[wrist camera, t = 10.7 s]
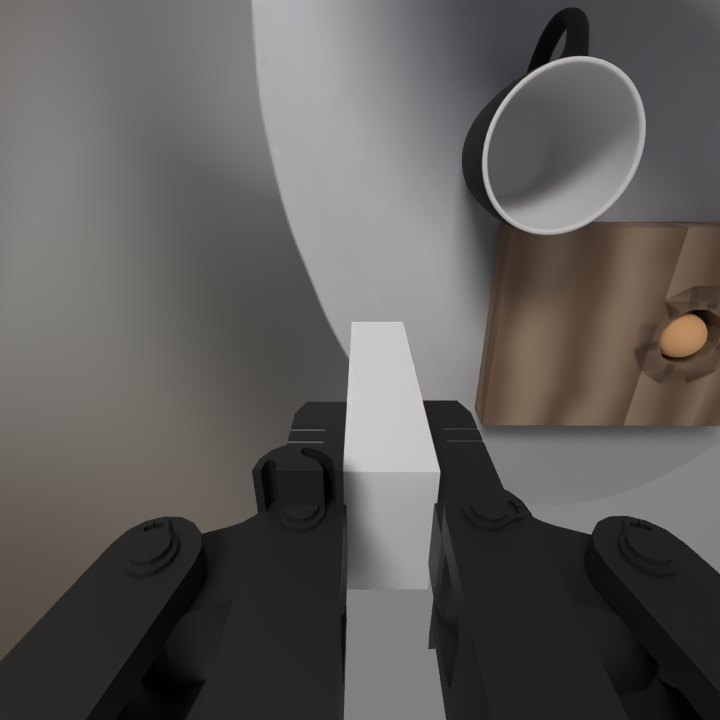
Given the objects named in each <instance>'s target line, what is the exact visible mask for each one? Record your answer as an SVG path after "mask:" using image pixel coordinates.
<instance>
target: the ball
mask: <svg viewBox="0 0 720 720" xmlns="http://www.w3.org/2000/svg"><path fill="white" fill-rule="evenodd" d="M706 339H707V328H706V325H705V323H704V322H703V321H702V320H701V319H700V318H699V317H698V316H696V315H694V314H692V313H689V312H686V313H684V314H682V315H680V316H678V317H676V318H675V319H674V320H673V321H672V322H671V323H670V324H669V325H668V326H667V327H666V328H665V329H664V330H663V333H662V336H661V339H660V342H659V348H660V352H661V353H662V354H664V355H667V356H671V357H685V356H688V355H691V354H693V353H695V352H697V351H698V350H699V349H701V348H702V346H703V345H704V344H705V342H706Z"/></svg>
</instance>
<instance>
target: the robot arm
mask: <svg viewBox="0 0 720 720" xmlns="http://www.w3.org/2000/svg"><path fill="white" fill-rule="evenodd" d="M252 473H253V481H254V487H255V495H256V502H257V508H258V513H257V514H256V515H255V516H253V517H251V518H249V519H248V520H246V521H244V522H242V523H239V524H236V525H233V526H230V527H227V528H223V529H219V530H215V531H211V532H207V533H203V534H201V532H200V531H199V529H198V528H197V526H196V525H195V523H193V522H191V521H189V520H187V519H184V518H182V517H161V518H157V519H153V520H149V521H145V522H143V523H141V524H139V525H137V526H135V527H133V528H131V529H129V530H128V531H126V532H125V533H124V534H123V535H121V536H120V537H119V538H118V539H117V540H115V541H114V542H113V543H112V544H111V545H110V546H109V547H108V548H107V549H106V550H105V551H104V552H103V553H102V554H101V555H100V557H99V558H98V559H97V560H96V561H95V562H94V563H93V564H92V565H91V566H90V567H89V568H88V569H87V570H86V571H85V572H84V573H83V575H82V576H81V577H80V578H79V579H78V580H77V581H76V582H75V583H74V584H73V585H72V586H71V587H70V588H69V589H68V590H67V591H66V592H65V594H64V595H63V596H62V597H61V598H60V599H59V600H58V601H57V602H56V603H55V604H54V605H53V606H52V607H51V609H50V610H49V611H48V612H47V613H46V614H45V615H44V616H43V617H42V618H41V619H40V620H39V621H38V622H37V623H36V624H35V625H34V626H33V628H32V629H31V630H30V631H29V632H28V633H27V634H26V635H25V636H24V637H23V638H22V639H21V640H20V642H18V643H17V645H15V647H14V648H13V649H12V650H11V651H10V652H9V653H8V654H7V655H6V656H5V657H4V658H3V659H2V660H1V661H0V720H344V691H345V690H344V689H345V658H346V657H345V656H346V624H347V623H346V622H347V616H346V593H347V589H417V590H418V589H419V590H421V589H424V590H427V589H428V583H429V574H430V579H431V585H432V591H433V597H434V599H433V607H432V616H431V625H430V633H429V649H435V647H436V653H437V660H438V667H439V674H440V681H441V687H442V694H443V701H444V708H445V714H446V720H720V574H719V573H718V572H717V571H716V570H715V569H714V568H712V567H711V566H710V565H709V564H708V563H707V562H706V561H705V560H703V559H702V558H701V557H700V556H699V555H698V554H697V553H695V552H694V551H693V550H692V549H691V548H690V547H689V546H688V545H686V544H685V543H684V542H682V541H681V540H679V539H678V538H677V537H675V536H674V535H672V534H671V533H670V532H669V531H667V530H665V529H663V528H661V527H659V526H657V525H654V524H652V523H650V522H648V521H645V520H641V519H637V518H633V517H628V516H610V517H608V518H605V519H603V520H601V521H599V522H598V523H597V524H596V526H595V528H594V530H593V532H592V535H590V534H586V533H582V532H578V531H574V530H570V529H566V528H562V527H558V526H554V525H551V524H548V523H545V522H542V521H540V520H538V519H536V518H534V517H533V516H532V514H531V512H530V511H529V510H528V508H527V507H526V506H525V504H524V503H523V502H522V501H521V500H520V499H519V498H517V497H516V496H515V495H513V494H512V493H510V492H509V491H507V490H504V488H503V486H502V484H501V481H500V479H499V477H498V474H497V472H496V470H495V467H494V465H493V463H492V460H491V458H490V456H489V453H488V451H487V449H486V446H485V444H484V442H482V437H481V435H480V432H479V430H477V426H476V423H475V421H474V419H473V416H472V414H471V412H470V411H468V410H467V409H466V408H465V407H464V406H463V405H461V404H460V403H459V402H458V401H422V397H421V393H420V389H419V385H418V381H417V377H416V373H415V369H414V365H413V361H412V357H411V353H410V349H409V345H408V341H407V337H406V333H405V329H404V325H403V322H352V331H351V348H350V364H349V382H348V397H347V402H306V403H305V404H304V405H303V406H302V407H301V408H300V409H299V410H298V411H297V413H295V416H294V420H293V424H292V428H291V431H290V435H289V439H288V443H287V445H285V446H282V447H279V448H277V449H274V450H271V451H270V452H269V453H268V454H266V455H265V456H263V457H262V458H260V459H259V461H258V462H257V464H256V465H255V467H254V468H253V470H252Z"/></svg>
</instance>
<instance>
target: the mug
mask: <svg viewBox="0 0 720 720" xmlns="http://www.w3.org/2000/svg"><path fill="white" fill-rule="evenodd" d="M566 29H567V35H566V44H565V47H564V50H563V52H562V54H561V56H560V57H559V59H557V60H554V61H551V62H549V61H550V58H551V56H552V53H553V51H554V49H555V47H556V45H557V43H558V41H559V39H560V37H561V36H562V34H563V33H564V31H565V30H566ZM588 46H589V23H588V19H587V16H586V15H585V13H584V12H583V11H581V10H580V9H578V8H573V7H572V8H566V9H563V10H561V11H559V12H558V13H557V14H555V15H554V16H553V17H552V19H551V20H550V21H549V23H548V24H547V26H546V28H545V29H544V31H543V33H542V35H541V37H540V39H539V41H538V44H537V46H536V48H535V51H534V53H533V56H532V59H531V62H530V64H529V67H528V70H527V73H526V74H525V75H523V76H522V77H520V78H519V79H517V80H516V81H514V82H513V83H511V84H510V85H509V86H508V87H506V88H505V89H504V90H502V91H501V92H500V93H499V94H498V95H497V96H496V97H495V98H494V99H492V100H491V101H490V102H489V103H488V104H487V106H486V107H485V108H484V109H483V110H482V111H481V113H480V114H479V115H478V117H477V118H476V119H475V121H474V123H473V124H472V126H471V128H470V130H469V132H468V134H467V137H466V140H465V143H464V147H463V153H462V168H463V174H464V178H465V181H466V183H467V186H468V188H469V190H470V191H471V193H472V194H473V196H474V197H475V199H476V200H477V201H478V202H479V203H480V204H481V205H482V206H483V207H484V208H485V209H486V210H487V211H488V212H489V213H491V214H492V215H493V216H495V217H496V218H497V219H499V220H500V221H502V222H504V223H505V224H507V225H509V226H511V227H513V228H515V229H518V230H520V231H523V232H526V233H530V234H535V235H558V234H563V233H567V232H571V231H574V230H577V229H579V228H581V227H583V226H585V225H587V224H589V223H591V222H592V221H594V220H595V219H597V218H598V217H600V216H601V215H602V214H604V213H605V212H606V211H607V210H608V209H609V208H610V207H611V206H612V205H613V204H614V203H615V202H616V201H617V200H618V199H619V198H620V196H621V195H622V194H623V193H624V191H625V190H626V188H627V187H628V185H629V183H630V182H631V180H632V178H633V176H634V174H635V172H636V170H637V168H638V165H639V163H640V160H641V156H642V153H643V149H644V144H645V136H646V118H645V111H644V107H643V103H642V100H641V97H640V95H639V92H638V90H637V89H636V87H635V85H634V84H633V82H632V81H631V79H630V78H629V77H628V76H627V75H626V74H625V73H624V72H623V71H622V70H621V69H619V68H618V67H616V66H615V65H613V64H611V63H609V62H607V61H605V60H602V59H599V58H595V57H589V56H588Z"/></svg>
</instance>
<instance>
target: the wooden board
mask: <svg viewBox="0 0 720 720" xmlns="http://www.w3.org/2000/svg"><path fill="white" fill-rule="evenodd" d="M691 310H695V312H696V316H698V317H699V318H700V319H701V320H702V321H703V322H704V323H705V325H706V328H707V339H706V342H705V344H704V345H703V346H702V348H701V349H699V350H698V351H697V352H695V353H693V354H691V355H688V356H685V357H671V356H667V355H664V354H662V353H661V352H660V348H659V342H660V339H661V336H662V333H663V330H664V329H665V328H666V327H667V326H668V325H669V324H670V323H671V322H672V321H673V320H674V319H675V318H676V317H678V316H680V315H682V314H684V313H686V312H688V311H691ZM475 410H476V412H477V414H478V416H479V418H480V421H481V423H482V425H553V426H720V222H591V223H589V224H587V225H585V226H583V227H581V228H579V229H577V230H574V231H571V232H567V233H563V234H558V235H535V234H530V233H526V232H523V231H520V230H518V229H515V228H513V227H511V226H509V225H507V224H505V223H504V222H501V226H500V233H499V240H498V247H497V255H496V262H495V269H494V276H493V283H492V290H491V297H490V304H489V312H488V319H487V326H486V333H485V340H484V347H483V354H482V361H481V368H480V376H479V383H478V390H477V397H476V404H475Z"/></svg>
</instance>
